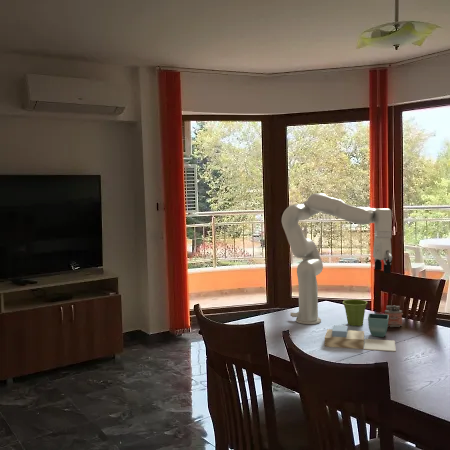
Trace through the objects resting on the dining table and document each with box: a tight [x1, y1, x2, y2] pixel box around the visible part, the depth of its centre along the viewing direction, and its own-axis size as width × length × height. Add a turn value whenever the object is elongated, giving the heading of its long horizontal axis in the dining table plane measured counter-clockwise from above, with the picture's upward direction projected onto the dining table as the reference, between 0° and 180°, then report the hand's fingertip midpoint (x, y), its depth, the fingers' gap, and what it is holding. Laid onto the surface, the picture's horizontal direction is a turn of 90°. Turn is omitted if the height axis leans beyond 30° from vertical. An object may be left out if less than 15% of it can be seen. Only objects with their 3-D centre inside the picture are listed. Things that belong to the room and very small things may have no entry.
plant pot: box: [342, 298, 368, 327], centre depth 251 cm, size 12×12×11 cm
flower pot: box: [367, 313, 389, 338], centre depth 232 cm, size 9×9×9 cm
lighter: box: [384, 304, 403, 328], centre depth 247 cm, size 8×3×10 cm, turn 84°
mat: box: [363, 338, 397, 352], centre depth 217 cm, size 12×14×1 cm
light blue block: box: [332, 324, 349, 337], centre depth 222 cm, size 6×9×2 cm, turn 163°
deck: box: [324, 328, 365, 350], centre depth 221 cm, size 16×13×4 cm
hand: (382, 271), depth 238 cm, fingers open, 9 cm apart
